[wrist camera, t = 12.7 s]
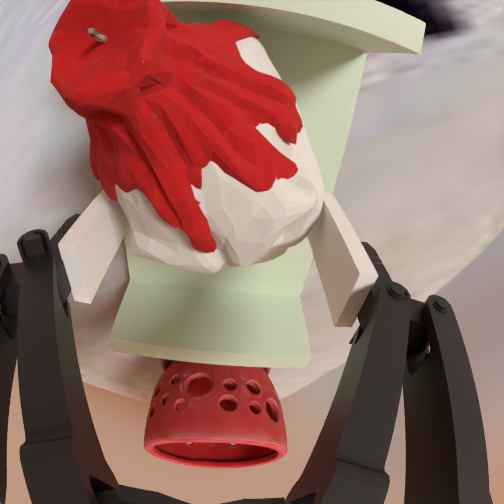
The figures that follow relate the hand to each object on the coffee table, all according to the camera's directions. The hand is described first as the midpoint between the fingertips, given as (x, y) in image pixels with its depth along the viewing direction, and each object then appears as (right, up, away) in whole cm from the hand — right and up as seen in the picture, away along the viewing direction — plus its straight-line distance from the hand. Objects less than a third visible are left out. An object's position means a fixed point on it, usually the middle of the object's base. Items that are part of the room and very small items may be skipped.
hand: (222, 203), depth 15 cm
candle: (+1, +2, +4) cm, 4 cm away
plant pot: (-2, -14, +16) cm, 22 cm away
